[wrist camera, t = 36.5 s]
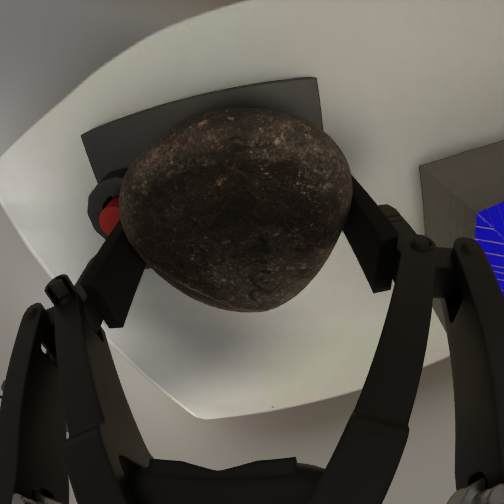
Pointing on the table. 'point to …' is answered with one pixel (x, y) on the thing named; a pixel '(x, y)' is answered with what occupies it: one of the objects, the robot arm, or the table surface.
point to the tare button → (110, 216)
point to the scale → (174, 113)
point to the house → (467, 204)
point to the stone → (237, 206)
